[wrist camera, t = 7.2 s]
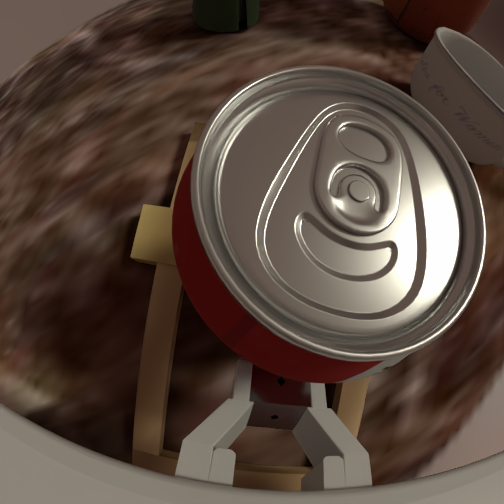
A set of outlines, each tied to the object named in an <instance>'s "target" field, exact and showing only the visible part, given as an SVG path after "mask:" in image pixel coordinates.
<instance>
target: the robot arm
mask: <svg viewBox="0 0 504 504" xmlns="http://www.w3.org/2000/svg"><path fill="white" fill-rule="evenodd" d="M246 426H251V427H262V428H273V429H282V430H293V431H292V432H293V434H294V436H295V437H296V439H297V441H298V442H299V444H300V446H301V447H302V449H303V451H304V452H305V454H306V456H307V457H308V459H309V460H310V462H311V464H312V465H313V467H314V468H313V469H312V470H311V471H310V472H308V473H307V474H306V475H305V476H304V477H302V478H301V491H281V490H262V489H250V488H240V487H232V485H233V476H234V466H235V457H236V454H235V453H234V452H233V451H232V450H230V449H227V448H228V447H229V446H230V445H231V444H232V443H233V442H234V440H235V439H236V438H237V437H238V436H239V435H240V434H241V432H242V431H243V430H244V429H245V428H246ZM0 504H504V451H502V452H499V453H497V454H494V455H492V456H489V457H487V458H484V459H481V460H479V461H476V462H473V463H471V464H468V465H464V466H462V467H458V468H455V469H452V470H448V471H445V472H441V473H438V474H434V475H430V476H426V477H421V478H417V479H412V480H407V481H402V482H397V483H391V484H385V485H378V486H372V479H371V470H370V462H369V454H368V452H367V451H366V450H365V449H364V448H363V447H362V445H361V444H360V443H359V442H358V441H357V439H356V438H355V437H354V436H353V435H352V433H351V432H350V431H349V430H348V429H347V427H346V426H345V425H344V424H343V423H342V421H341V420H340V419H339V418H338V416H337V415H336V414H335V413H334V412H333V410H332V409H331V408H327V402H326V393H325V384H324V383H308V382H303V381H297V380H292V379H288V378H285V377H282V376H278V375H275V374H273V373H271V372H268V371H266V370H264V369H261V368H259V367H257V366H256V365H254V364H252V363H250V362H249V361H246V360H240V359H238V360H237V365H236V371H235V376H234V381H233V386H232V392H231V399H229V398H228V399H227V400H226V401H224V402H223V403H222V404H221V405H220V406H219V407H218V408H217V409H216V410H215V411H214V412H213V413H212V414H211V415H210V416H209V417H208V418H207V419H206V420H204V421H203V422H202V423H201V424H200V425H199V426H198V427H197V428H196V429H195V430H194V431H192V432H191V433H190V434H189V435H188V436H187V437H186V438H185V439H183V442H182V446H181V451H180V455H179V459H178V463H177V468H176V472H175V476H171V475H167V474H163V473H159V472H155V471H152V470H148V469H145V468H141V467H138V466H135V465H132V464H128V463H125V462H122V461H119V460H117V459H114V458H111V457H108V456H106V455H103V454H100V453H98V452H95V451H93V450H90V449H88V448H85V447H83V446H81V445H78V444H76V443H74V442H72V441H69V440H67V439H65V438H63V437H61V436H59V435H57V434H55V433H53V432H51V431H49V430H47V429H45V428H43V427H41V426H39V425H37V424H36V423H34V422H32V421H30V420H29V419H27V418H25V417H23V416H22V415H20V414H18V413H17V412H15V411H13V410H12V409H10V408H9V407H7V406H5V405H4V404H2V403H1V402H0Z"/></svg>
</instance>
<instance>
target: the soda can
mask: <svg viewBox="0 0 504 504" xmlns="http://www.w3.org/2000/svg"><path fill="white" fill-rule="evenodd" d="M172 242H173V251H174V256H175V261H176V265H177V269H178V272H179V275H180V278H181V281H182V283H183V286H184V288H185V290H186V293H187V295H188V297H189V299H190V301H191V302H192V304H193V306H194V308H195V309H196V311H197V312H198V314H199V315H200V317H201V318H202V319H203V321H204V322H205V324H206V325H207V326H208V327H209V328H210V329H211V330H212V332H213V333H214V334H215V335H216V336H217V337H218V338H219V339H220V340H221V341H222V342H223V343H224V344H226V345H227V346H228V347H229V348H230V349H231V350H233V351H234V352H235V353H237V354H238V355H239V356H241V357H242V358H244V359H245V360H247V361H249V362H250V363H252V364H254V365H256V366H257V367H259V368H261V369H264V370H266V371H268V372H271V373H273V374H275V375H278V376H282V377H285V378H288V379H292V380H297V381H303V382H308V383H324V384H327V383H342V382H348V381H354V380H358V379H362V378H365V377H368V376H372V375H374V374H376V373H379V372H381V371H383V370H385V369H387V368H389V367H391V366H393V365H394V364H396V363H398V362H399V361H401V360H402V359H403V358H405V357H406V356H407V355H409V354H410V353H412V352H415V351H417V350H419V349H421V348H423V347H425V346H427V345H428V344H430V343H431V342H433V341H434V340H436V339H437V338H439V337H440V336H441V335H442V334H444V333H445V332H446V331H447V330H448V329H449V328H450V327H451V326H452V325H453V324H454V323H455V322H456V321H457V320H458V318H459V317H460V316H461V314H462V313H463V312H464V310H465V309H466V307H467V306H468V304H469V302H470V300H471V298H472V297H473V295H474V292H475V290H476V288H477V285H478V282H479V279H480V276H481V273H482V269H483V264H484V259H485V250H486V222H485V214H484V208H483V203H482V199H481V195H480V192H479V188H478V185H477V182H476V180H475V177H474V175H473V172H472V170H471V168H470V166H469V164H468V162H467V160H466V158H465V156H464V154H463V153H462V151H461V149H460V148H459V146H458V145H457V143H456V142H455V140H454V139H453V138H452V136H451V135H450V134H449V132H448V131H447V130H446V129H445V127H444V126H443V125H442V124H441V123H440V122H439V121H438V120H437V119H436V118H435V117H434V116H433V115H432V114H431V113H430V112H429V111H428V110H427V109H426V108H425V107H423V106H422V105H421V104H420V103H419V102H417V101H416V100H415V99H413V98H412V97H410V96H409V95H408V94H406V93H404V92H403V91H401V90H400V89H398V88H396V87H394V86H393V85H391V84H389V83H387V82H385V81H383V80H380V79H378V78H376V77H373V76H370V75H368V74H365V73H362V72H358V71H355V70H351V69H346V68H341V67H334V66H324V65H304V66H295V67H289V68H284V69H279V70H276V71H272V72H269V73H267V74H264V75H262V76H259V77H257V78H255V79H253V80H251V81H249V82H247V83H246V84H244V85H243V86H241V87H240V88H238V89H237V90H235V91H234V92H233V93H232V94H231V95H229V96H228V97H227V98H226V99H225V100H224V101H223V102H222V103H221V104H220V105H219V106H218V108H217V109H216V110H215V112H214V113H213V114H212V116H211V117H210V118H209V120H208V122H207V124H206V125H205V127H204V129H203V131H202V133H201V135H200V138H199V140H198V143H197V146H196V149H195V153H194V155H193V156H192V158H191V159H190V161H189V163H188V165H187V167H186V169H185V171H184V173H183V175H182V178H181V180H180V183H179V185H178V189H177V193H176V196H175V200H174V207H173V214H172Z"/></svg>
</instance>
